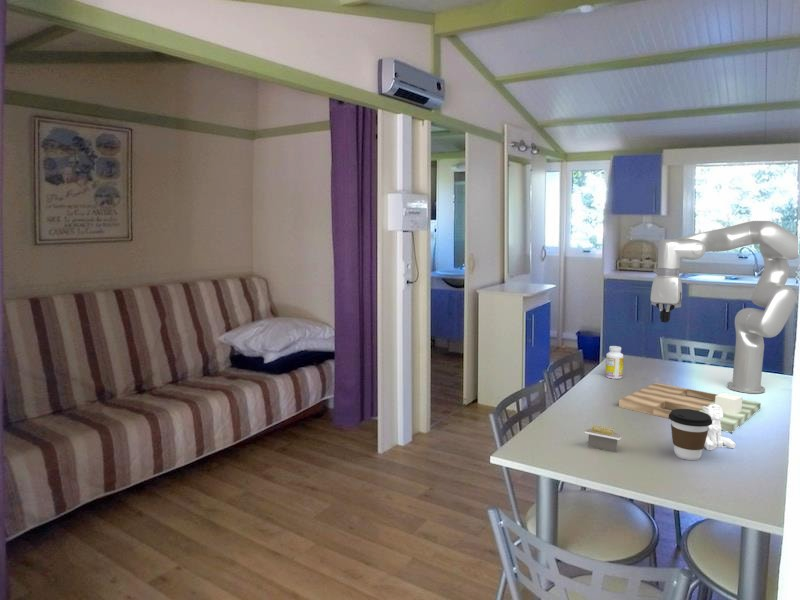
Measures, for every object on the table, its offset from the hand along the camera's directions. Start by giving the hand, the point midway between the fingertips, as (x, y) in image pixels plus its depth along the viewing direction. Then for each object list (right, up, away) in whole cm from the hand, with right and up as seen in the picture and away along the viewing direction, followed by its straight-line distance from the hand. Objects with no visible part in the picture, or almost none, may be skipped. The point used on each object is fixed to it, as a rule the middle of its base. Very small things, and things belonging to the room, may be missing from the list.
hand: (664, 321), depth 227 cm
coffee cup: (-19, -35, -58) cm, 71 cm away
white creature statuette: (-8, -34, -50) cm, 61 cm away
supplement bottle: (-10, -24, +25) cm, 36 cm away
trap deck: (+1, -30, -16) cm, 34 cm away
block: (+9, -29, -26) cm, 40 cm away
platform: (-41, -35, -53) cm, 76 cm away
